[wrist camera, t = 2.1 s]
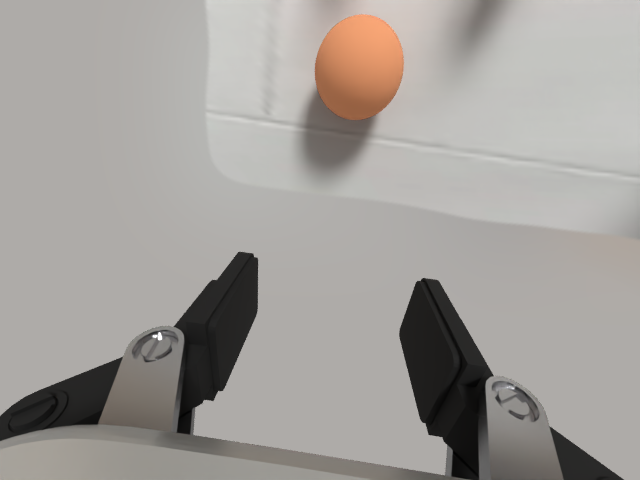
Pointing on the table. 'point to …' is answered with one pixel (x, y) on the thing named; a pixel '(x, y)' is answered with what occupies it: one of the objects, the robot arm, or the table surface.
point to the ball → (359, 67)
